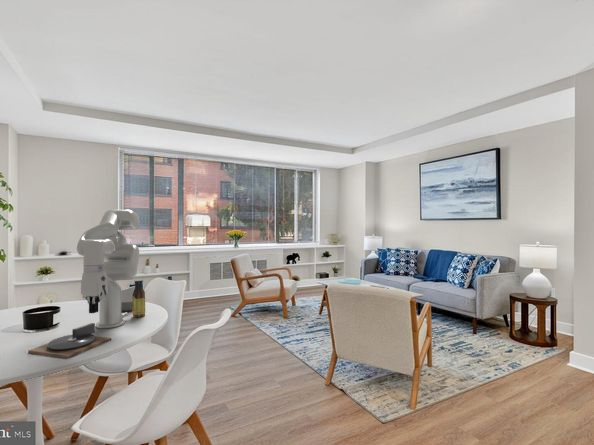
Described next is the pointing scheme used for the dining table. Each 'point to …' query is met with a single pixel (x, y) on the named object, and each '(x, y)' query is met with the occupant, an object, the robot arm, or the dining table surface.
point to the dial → (74, 338)
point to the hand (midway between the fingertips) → (93, 312)
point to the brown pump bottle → (138, 299)
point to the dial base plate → (68, 353)
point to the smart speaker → (127, 299)
